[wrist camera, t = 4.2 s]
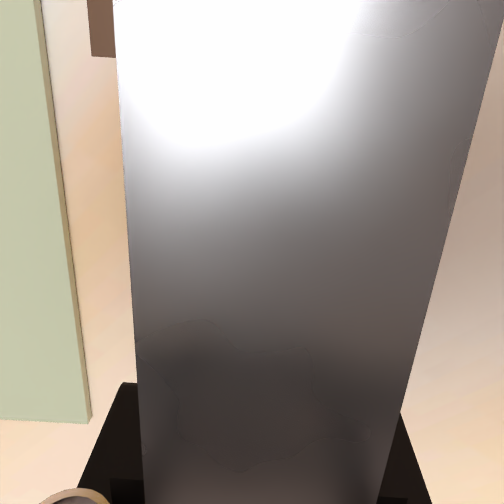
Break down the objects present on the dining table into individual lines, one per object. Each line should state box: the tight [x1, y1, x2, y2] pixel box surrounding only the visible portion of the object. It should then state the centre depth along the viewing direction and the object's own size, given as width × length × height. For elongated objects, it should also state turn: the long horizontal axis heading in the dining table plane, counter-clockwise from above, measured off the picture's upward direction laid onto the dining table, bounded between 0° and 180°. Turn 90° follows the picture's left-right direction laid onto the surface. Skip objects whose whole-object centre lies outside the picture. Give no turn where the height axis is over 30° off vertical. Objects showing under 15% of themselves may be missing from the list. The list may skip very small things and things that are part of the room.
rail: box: [113, 0, 504, 504], centre depth 8 cm, size 22×3×3 cm, turn 177°
